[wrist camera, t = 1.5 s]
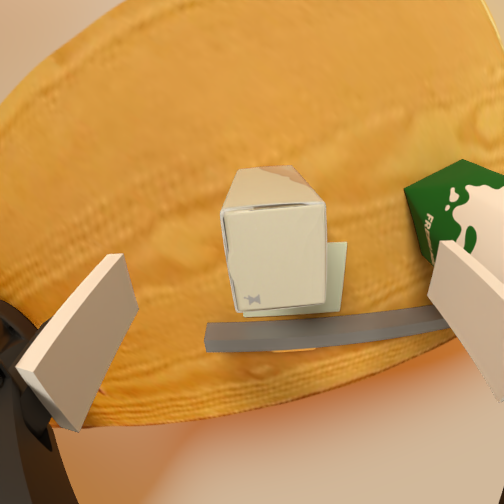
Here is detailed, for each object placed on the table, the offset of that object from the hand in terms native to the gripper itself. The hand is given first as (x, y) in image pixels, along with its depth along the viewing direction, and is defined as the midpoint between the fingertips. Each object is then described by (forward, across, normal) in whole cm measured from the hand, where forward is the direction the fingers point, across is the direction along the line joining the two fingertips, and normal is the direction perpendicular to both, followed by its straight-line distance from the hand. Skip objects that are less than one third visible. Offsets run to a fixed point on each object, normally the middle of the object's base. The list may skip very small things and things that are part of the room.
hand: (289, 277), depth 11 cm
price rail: (+12, +6, -13) cm, 19 cm away
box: (+12, 0, 0) cm, 12 cm away
